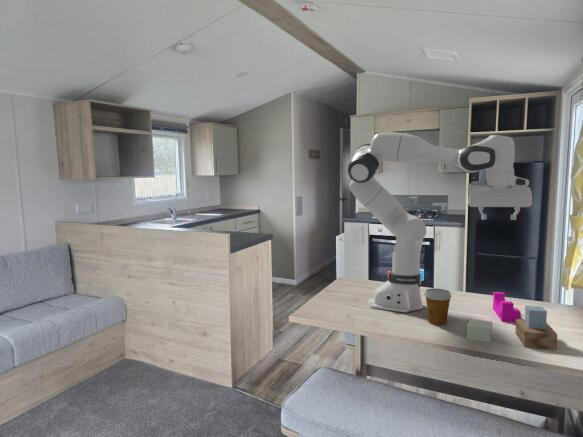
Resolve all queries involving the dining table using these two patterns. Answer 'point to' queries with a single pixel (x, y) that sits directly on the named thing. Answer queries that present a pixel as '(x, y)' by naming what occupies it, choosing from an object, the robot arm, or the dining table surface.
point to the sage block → (479, 330)
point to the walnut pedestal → (536, 336)
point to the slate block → (535, 317)
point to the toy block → (505, 308)
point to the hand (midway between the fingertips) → (498, 219)
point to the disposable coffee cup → (437, 305)
